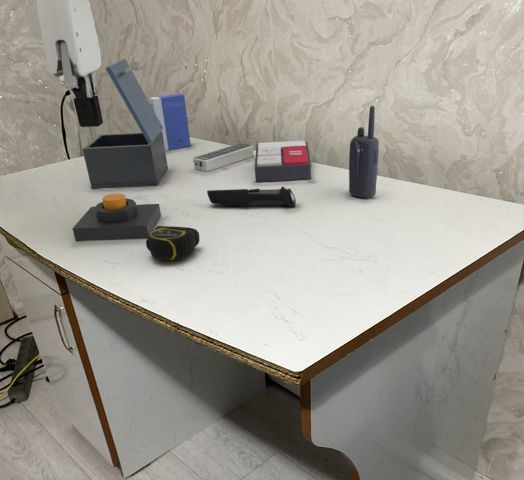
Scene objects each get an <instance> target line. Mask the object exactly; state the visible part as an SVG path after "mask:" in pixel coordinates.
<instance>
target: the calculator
mask: <svg viewBox="0 0 524 480" xmlns="http://www.w3.org/2000/svg"><path fill="white" fill-rule="evenodd" d="M254 176H255V183H265V182H285V181H286V182H287V181H305V180H311V179H312V161H311V156H310V150H309V145H308V142H307V141H306V140H289V141H270V142H269V141H268V142H258V143H257V144H256V145H255V159H254Z"/></svg>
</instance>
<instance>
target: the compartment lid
mask: <svg viewBox="0 0 524 480" xmlns="http://www.w3.org/2000/svg"><path fill="white" fill-rule="evenodd" d="M145 66H146V60H145V58H143V57H138V58H137V59H135V60H133V61H131V62H130V65H129V62H128V61H127V59H126V58H122V59H121V60H119V61H117V62H115V63H113V64H111V65H108V66H107V67H105V71H106V72H107V74H108V76H109V77H110V79H111V81H112V83H113V84H114V86H115V88H116V89H117V91H118V93H119V95H120V97H121V98H122V100H123V102H124V103H125V105H126V107H127V109H128V110H129V112H130V114H131V115H132V118H133V119H134V121H135V123H136V124H137V127H138V128H139V130H140V132H141V133H143V135H144V137H145V138H146V140H147V142H148V144H149V143H151V142H152V141H153V140H154V139H155V138H156V137H157V135H158V134H159V133H160V132H161V131H162V129H163V127H162V125H161V123H160V121H159V119H158V117H157V116H156V114H155V112H154V110H153V108H152V106H151V102H150V101H149V99H148V97H147V95H146V94H145V92H144V90H143V88H142V87H141V84H140V82H139V81H138V79H137V78H136V75H135V73H134V71H135V72H137V71H139V70H141V69H143V68H144V67H145Z"/></svg>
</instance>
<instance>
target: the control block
mask: <svg viewBox="0 0 524 480" xmlns="http://www.w3.org/2000/svg"><path fill="white" fill-rule="evenodd" d="M125 200H126V205H127V206H125V207H123V208H119V209H113V210H107V209H104V205H103V201H101V202H99V203H97V204H96V205H95V206H90V207H89V209H88V210H87V211H86V212H85V213H84V215H83V216H82V217H81V218H79V220H78V221H77V223H76V224H75V225H74V226H73V227H72V233H73V236H74V240H75V242H90V241H91V242H96V241H117V240H118V241H119V240H120V241H122V240H123V241H124V240H147V239H148V235H149V233H150V232H151V231H153V230H155V228H156V227H157V225H158V223H159V221H160V219H161V217H162V212H161V207H160V203H145V204H144V203H143V204H137V202H136V201H135V200H134V199H132V198H127V197H125Z"/></svg>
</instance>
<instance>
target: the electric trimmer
mask: <svg viewBox="0 0 524 480" xmlns="http://www.w3.org/2000/svg"><path fill="white" fill-rule="evenodd" d="M206 193H207V196H208V199H209V201H210V203H211V204H212V205H213V204H214V205H222V206H223V205H224V206H235V207H237V206H238V207H248V206H250V205H271V206H272V205H278V206H279V205H283V206H284V205H285V206H287V207H288V208H292V207H293V206H294V207H295V206H296V202H297V200H296V199H297V198H296V196H295V195H294V193H293V191H292V189H291V188H286V187H284V186H281V187H280V188H278V189H260V188H250V189H248V188H241V189H240V188H238V189H237V188H236V189H211V190H210V189H209V190H206Z"/></svg>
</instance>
